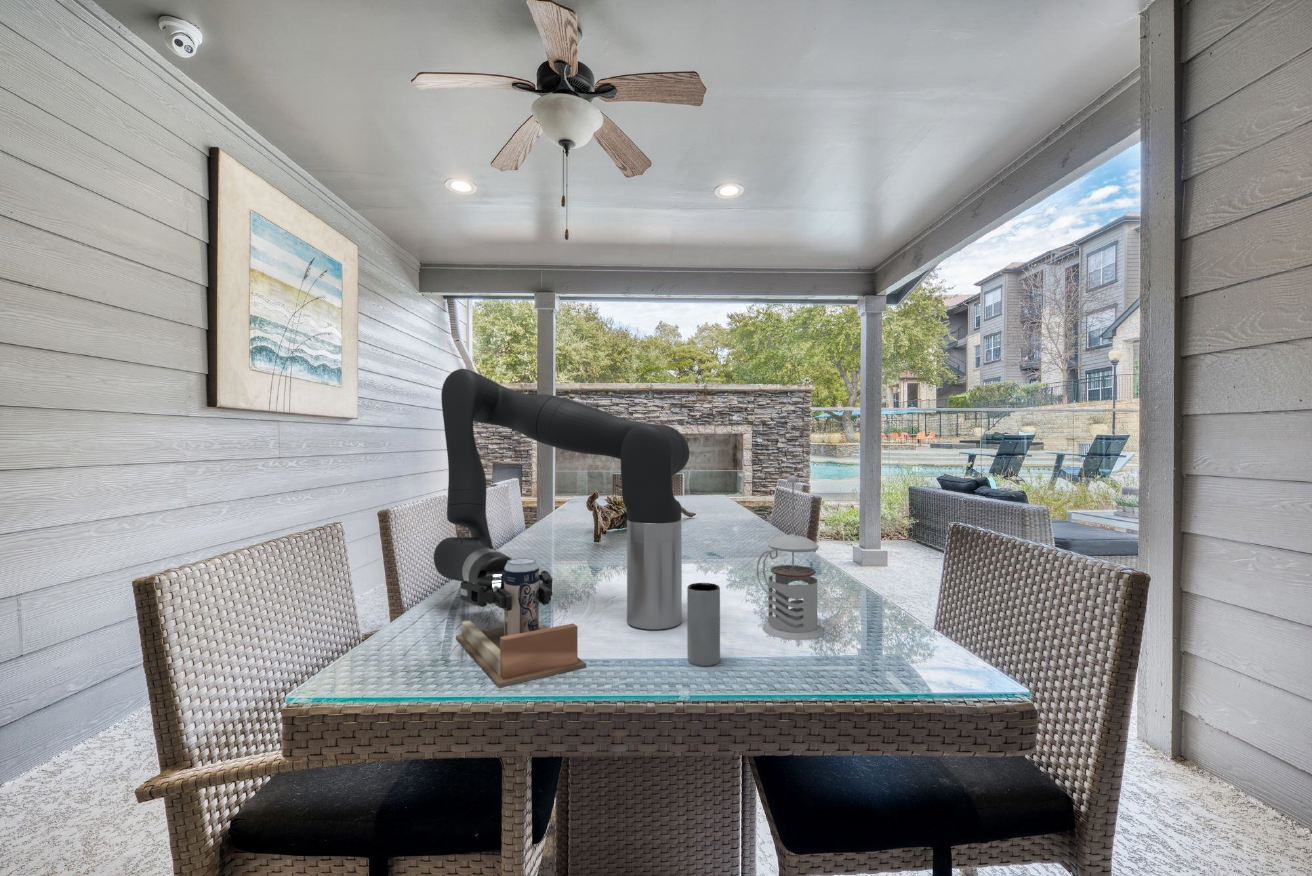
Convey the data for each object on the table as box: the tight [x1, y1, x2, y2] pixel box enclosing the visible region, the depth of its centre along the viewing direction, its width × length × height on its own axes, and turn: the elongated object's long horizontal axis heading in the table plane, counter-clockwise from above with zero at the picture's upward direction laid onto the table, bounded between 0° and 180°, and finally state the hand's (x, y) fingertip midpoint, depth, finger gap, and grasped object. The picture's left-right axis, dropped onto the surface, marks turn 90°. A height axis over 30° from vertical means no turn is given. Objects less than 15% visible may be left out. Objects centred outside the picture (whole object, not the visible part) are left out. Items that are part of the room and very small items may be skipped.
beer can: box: [503, 557, 540, 636], centre depth 83 cm, size 5×5×12 cm
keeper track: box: [455, 620, 587, 688], centre depth 85 cm, size 21×12×6 cm, turn 33°
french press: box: [756, 474, 825, 641], centre depth 96 cm, size 10×12×25 cm
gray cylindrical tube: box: [686, 582, 721, 667], centre depth 82 cm, size 4×4×10 cm
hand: (528, 600), depth 81 cm, fingers closed on beer can, 4 cm apart
